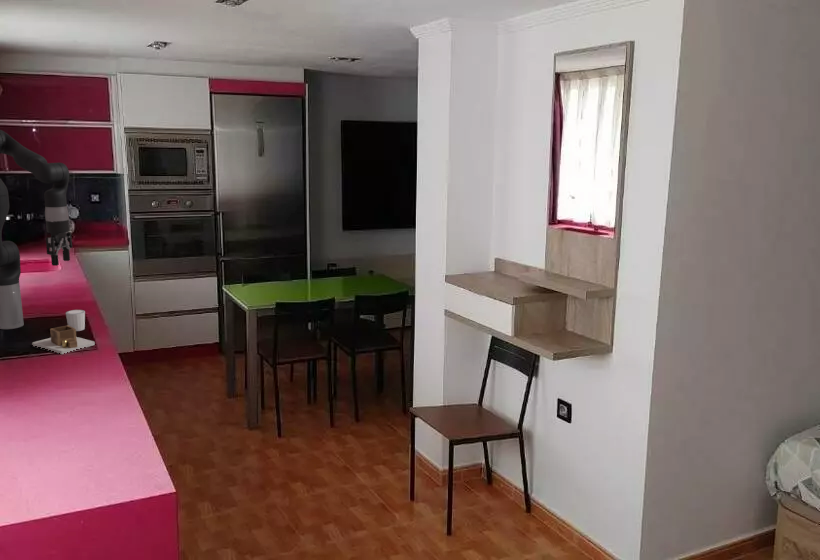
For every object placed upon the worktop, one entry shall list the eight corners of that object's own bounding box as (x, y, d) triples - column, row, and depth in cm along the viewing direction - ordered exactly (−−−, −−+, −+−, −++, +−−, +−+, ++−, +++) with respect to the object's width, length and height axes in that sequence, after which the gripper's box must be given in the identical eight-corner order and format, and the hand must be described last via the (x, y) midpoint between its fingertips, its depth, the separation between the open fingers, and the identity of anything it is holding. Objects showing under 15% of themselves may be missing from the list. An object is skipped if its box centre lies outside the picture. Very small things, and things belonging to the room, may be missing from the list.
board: (32, 345, 261) (32, 342, 261) (65, 336, 272) (65, 333, 271) (61, 354, 252) (61, 351, 252) (94, 344, 263) (94, 341, 263)
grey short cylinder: (79, 332, 278) (77, 314, 276) (63, 331, 279) (61, 313, 277) (90, 327, 284) (88, 310, 283) (74, 326, 286) (73, 308, 284)
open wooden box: (51, 342, 262) (50, 328, 260) (69, 338, 266) (68, 325, 265) (64, 349, 254) (63, 335, 253) (83, 345, 258) (82, 332, 257)
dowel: (61, 347, 256) (60, 340, 255) (65, 346, 257) (65, 339, 257) (64, 348, 255) (63, 341, 255) (68, 347, 256) (67, 340, 256)
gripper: (56, 216, 269) (60, 259, 273) (36, 221, 255) (40, 266, 259) (76, 216, 269) (80, 259, 273) (57, 221, 255) (61, 267, 259)
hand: (61, 263), depth 266 cm, fingers open, 8 cm apart
